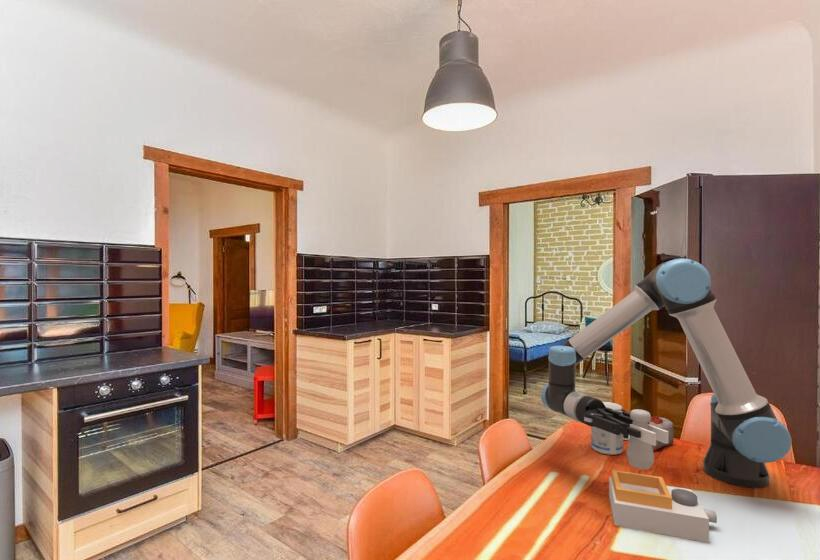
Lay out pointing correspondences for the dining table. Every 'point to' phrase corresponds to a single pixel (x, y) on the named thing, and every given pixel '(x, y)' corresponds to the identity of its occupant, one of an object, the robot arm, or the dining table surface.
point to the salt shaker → (640, 442)
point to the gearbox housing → (657, 507)
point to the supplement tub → (607, 437)
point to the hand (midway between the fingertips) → (661, 438)
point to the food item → (664, 425)
